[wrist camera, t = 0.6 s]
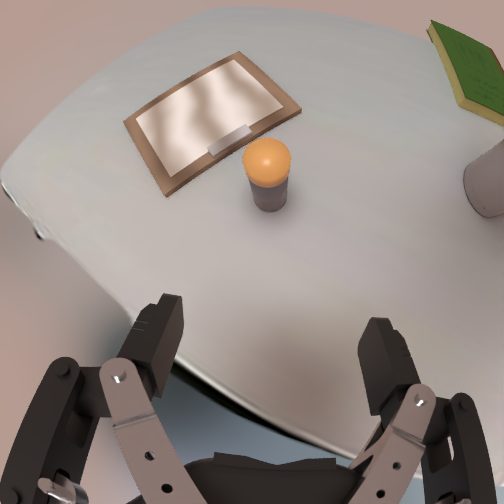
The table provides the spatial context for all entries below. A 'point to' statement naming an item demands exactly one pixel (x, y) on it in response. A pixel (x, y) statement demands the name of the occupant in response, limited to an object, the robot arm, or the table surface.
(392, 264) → the table surface
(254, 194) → the orange and grey cylinder
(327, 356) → the table surface
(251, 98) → the clipboard
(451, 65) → the hardcover book
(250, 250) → the table surface
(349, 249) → the table surface
